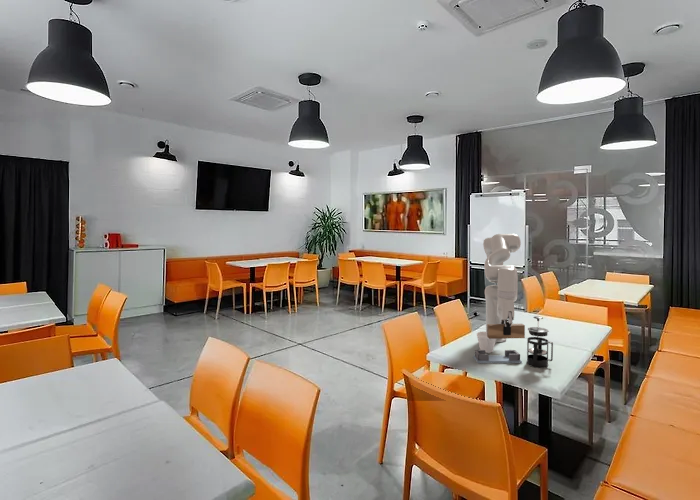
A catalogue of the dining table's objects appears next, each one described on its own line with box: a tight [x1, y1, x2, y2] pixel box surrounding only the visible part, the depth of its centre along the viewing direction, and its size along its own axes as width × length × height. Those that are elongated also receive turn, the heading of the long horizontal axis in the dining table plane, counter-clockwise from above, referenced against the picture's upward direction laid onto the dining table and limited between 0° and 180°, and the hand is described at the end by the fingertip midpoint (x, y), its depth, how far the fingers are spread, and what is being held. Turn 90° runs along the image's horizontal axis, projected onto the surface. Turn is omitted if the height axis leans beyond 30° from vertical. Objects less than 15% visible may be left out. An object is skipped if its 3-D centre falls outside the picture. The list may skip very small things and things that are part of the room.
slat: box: [487, 323, 526, 339], centre depth 178 cm, size 3×16×6 cm, turn 88°
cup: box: [476, 331, 497, 354], centre depth 203 cm, size 10×10×9 cm
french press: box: [526, 315, 554, 369], centre depth 183 cm, size 12×9×23 cm
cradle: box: [472, 349, 523, 364], centre depth 191 cm, size 8×21×4 cm, turn 88°
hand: (505, 333), depth 178 cm, fingers closed on slat, 2 cm apart
